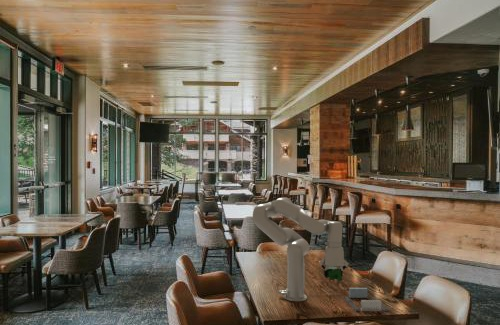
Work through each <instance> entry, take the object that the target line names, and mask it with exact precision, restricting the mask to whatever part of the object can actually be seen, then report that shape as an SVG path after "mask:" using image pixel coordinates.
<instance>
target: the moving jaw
mask: <svg viewBox="0 0 500 325" xmlns="http://www.w3.org/2000/svg"><path fill="white" fill-rule="evenodd" d="M368 293H369V292H368V288H367V287H348V298H349V299H350V298H352V299H357V298H358V299H360V298H361V299H366V298H367V299H368Z"/></svg>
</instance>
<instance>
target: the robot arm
mask: <svg viewBox="0 0 500 325" xmlns="http://www.w3.org/2000/svg"><path fill="white" fill-rule="evenodd" d="M277 215H282V216H284V217H285V218H288V219H289V220H290V221H293V222H295V223H296V224H297V225H298V226H300V227H301V228H302V229H304V230H306V231H307V232H310V233H311V234H313V235H316V236H321V235H323V234H327V240H326V241H325V242H324V245H326V246H325V250H324V257H323V258H322V259H320V260H319V261H318V264H319V266H320V267H321V268H322V269H323V276H324V277H325V278H326V279H328V278H327V276H328V271H327V269H328V267H331V266H334V267H337V268H338V269H339V270H340V271H341V276H342V277H343V274H344V273H343V272H344V270H345V269H346V268H347V267H348V266H349V262H348V261H347V260H345V253H344V247H342V245H343V244H342V241H343V223H342V222H341V221H336V220H327V219H323V218H322V219H315V218H314V217H311V216H310V215H309V214H307V213H306V212H305V210H304V208H303V207H301V206H299V205H297V204H296V203H295V204H294V203H293V202H292V200H291V199H290V198H288V197H279V198H277V199H275V200H273V201H269V202H266V203H260V204H258V205H257V206H255V207H254V208H253V211H252V220H253V222H254V224H255V225H256V227H257V228H258V229H259V230H261V232H263V233H264V234H266V236H267V237H269V239H271V240H272V241H273V242H274V243H276V244H277V245H278V246H280V247H283V246H284V247H285V246H287V247H286V259H287V261H286V262H287V272H286V273H287V275H286V276H287V277H286V278H287V279H286V283H287V284H286V288H285V289H284V290H278V295H281V296H283V298H284V299H285V300H286V301H290V302H305V301H307V299H308V295H306V294H305V256H306V255H307V254H308V253H309V251H310V244H309V243H308V241H307V240H306V239H305V238H303V237H302V236H301V235H300V234H299V233H298V232H296V231H295V230H293V229H292V228H290V227H281V226H280V225H278V224H277V223H276V222H275V221H273V220H272V219H270V218H271V217H275V216H277ZM324 264H325V265H324Z"/></svg>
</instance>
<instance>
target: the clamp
mask: <svg viewBox="0 0 500 325" xmlns="http://www.w3.org/2000/svg"><path fill="white" fill-rule="evenodd" d="M327 271H328V276H327V278H326V279H329V281H333V280H335V281H337V282H341V281H343V275H342V276H341V271H340V268H339V267H334V266H329V267H328V269H327Z"/></svg>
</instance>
